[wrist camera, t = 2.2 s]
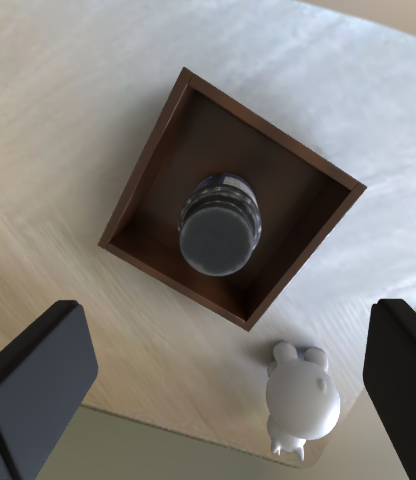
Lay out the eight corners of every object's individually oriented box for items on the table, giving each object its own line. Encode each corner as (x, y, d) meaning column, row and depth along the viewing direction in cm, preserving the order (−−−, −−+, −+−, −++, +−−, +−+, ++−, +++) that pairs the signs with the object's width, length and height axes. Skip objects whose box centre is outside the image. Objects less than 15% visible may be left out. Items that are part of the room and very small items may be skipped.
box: (123, 224, 31) (97, 245, 25) (196, 80, 25) (183, 66, 20) (247, 297, 32) (248, 332, 27) (341, 175, 27) (367, 187, 21)
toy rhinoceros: (243, 402, 38) (244, 475, 30) (274, 329, 33) (284, 391, 25) (297, 418, 37) (312, 494, 30) (335, 346, 33) (364, 414, 25)
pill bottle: (200, 237, 30) (179, 292, 20) (186, 178, 28) (154, 204, 18) (260, 227, 29) (271, 280, 18) (251, 165, 27) (257, 185, 17)
